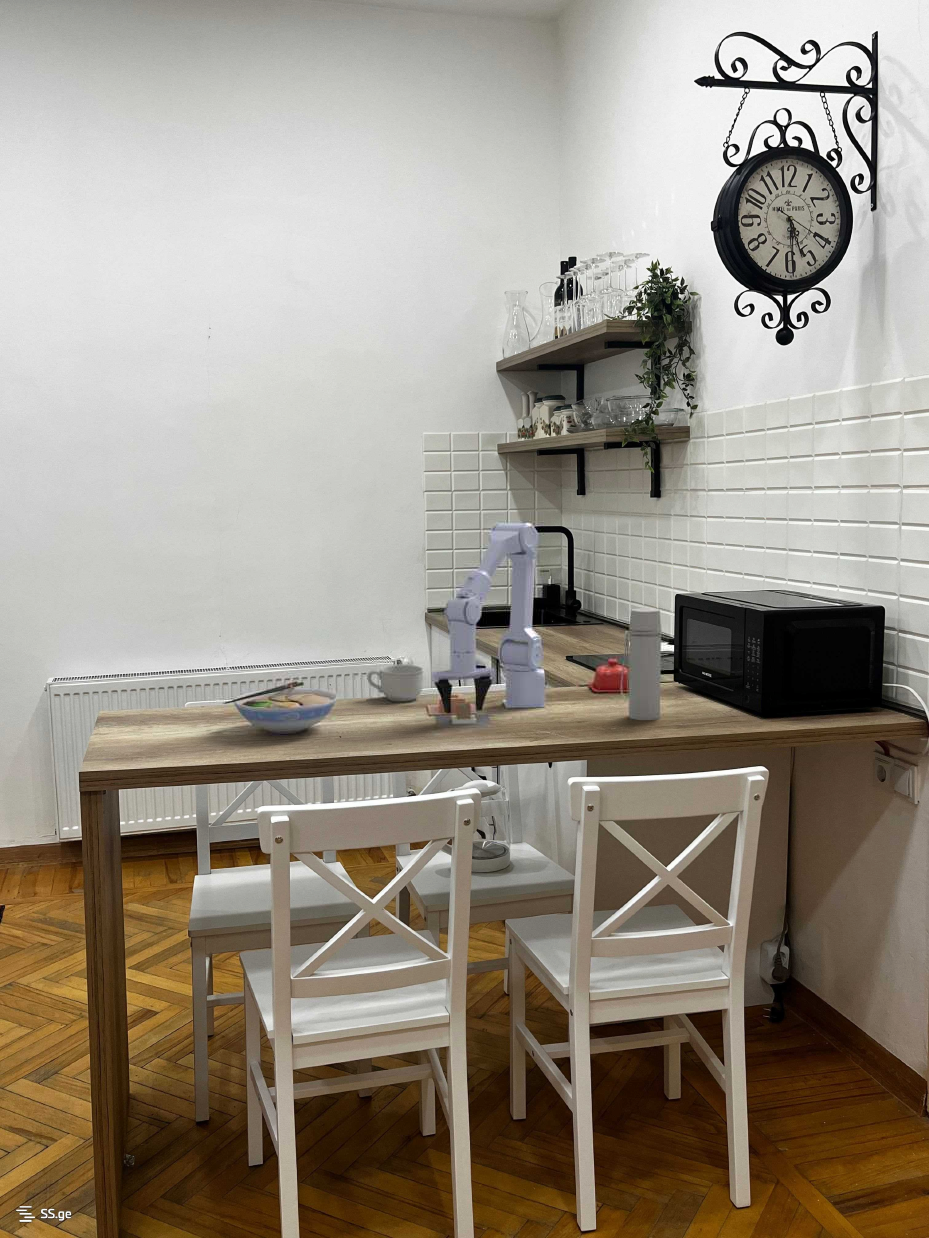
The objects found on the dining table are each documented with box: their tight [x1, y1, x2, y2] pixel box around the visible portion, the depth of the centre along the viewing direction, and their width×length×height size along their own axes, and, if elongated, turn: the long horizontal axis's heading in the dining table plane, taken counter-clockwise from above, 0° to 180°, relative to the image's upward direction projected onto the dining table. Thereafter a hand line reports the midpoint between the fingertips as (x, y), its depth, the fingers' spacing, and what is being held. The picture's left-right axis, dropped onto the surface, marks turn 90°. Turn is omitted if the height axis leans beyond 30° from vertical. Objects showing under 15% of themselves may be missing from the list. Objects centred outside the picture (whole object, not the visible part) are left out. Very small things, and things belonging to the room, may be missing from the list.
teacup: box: [366, 664, 424, 703], centre depth 268 cm, size 14×11×8 cm
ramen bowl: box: [222, 681, 339, 735], centre depth 234 cm, size 25×23×8 cm
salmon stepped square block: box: [426, 693, 478, 717], centre depth 253 cm, size 11×11×4 cm
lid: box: [450, 702, 476, 724], centre depth 240 cm, size 5×5×4 cm
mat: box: [435, 714, 493, 729], centre depth 241 cm, size 12×12×1 cm
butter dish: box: [588, 658, 627, 694], centre depth 277 cm, size 12×12×8 cm
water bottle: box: [620, 607, 663, 721], centre depth 241 cm, size 9×8×25 cm
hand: (463, 711), depth 240 cm, fingers open, 7 cm apart
